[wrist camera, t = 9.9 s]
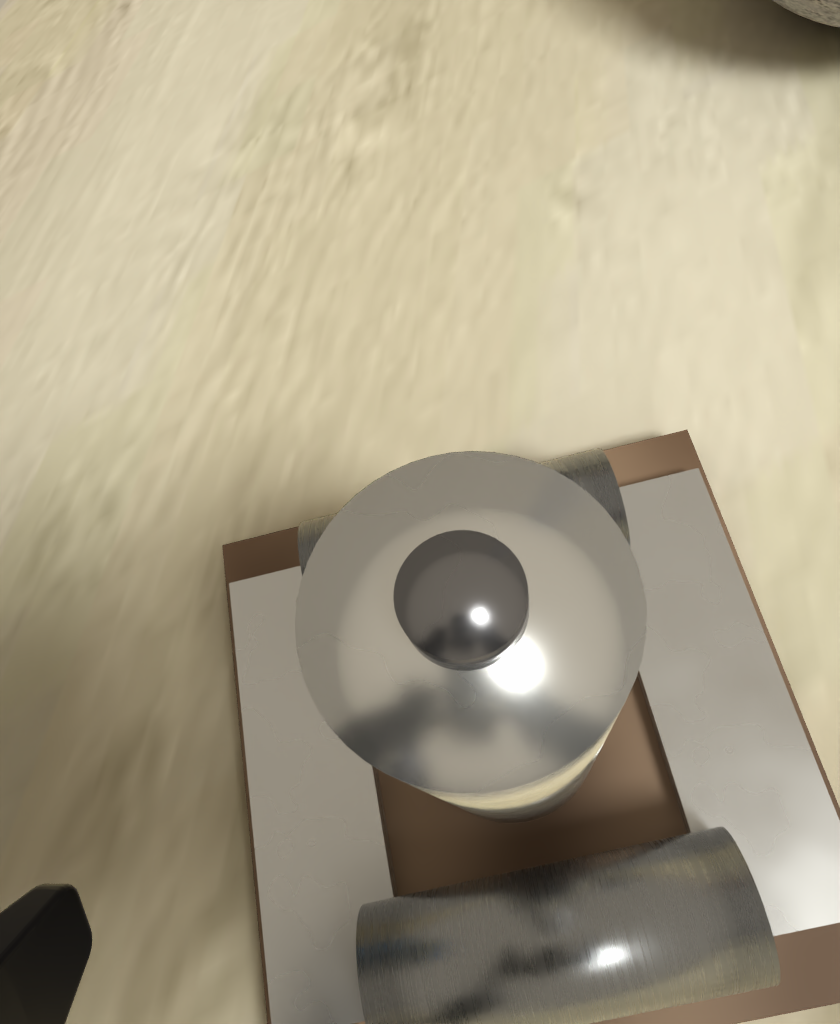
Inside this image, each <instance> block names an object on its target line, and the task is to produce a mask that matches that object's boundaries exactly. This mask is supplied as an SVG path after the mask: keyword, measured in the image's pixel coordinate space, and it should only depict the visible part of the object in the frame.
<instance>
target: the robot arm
mask: <svg viewBox="0 0 840 1024" xmlns="http://www.w3.org/2000/svg"><path fill="white" fill-rule="evenodd" d="M91 947H92V932H91V928H90V925H89V923H88V920H87V917H86V914H85V911H84V908H83V905H82V902H81V900H80V897H79V894H78V892H77V890H76V889H75V888H74V887H73V886H72V885H69V884H42V885H39V886H37V887H35V888H33V889H32V890H30V891H29V892H28V893H26V894H25V895H24V896H22V897H21V898H20V899H18V900H17V901H16V902H14V903H13V904H12V905H10V906H9V907H8V908H6V909H5V910H4V911H2V912H1V913H0V1024H65V1022H66V1019H67V1016H68V1014H69V1011H70V1008H71V1005H72V1003H73V1000H74V997H75V994H76V991H77V989H78V986H79V983H80V980H81V978H82V975H83V972H84V969H85V967H86V964H87V961H88V958H89V955H90V952H91Z"/></svg>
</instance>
